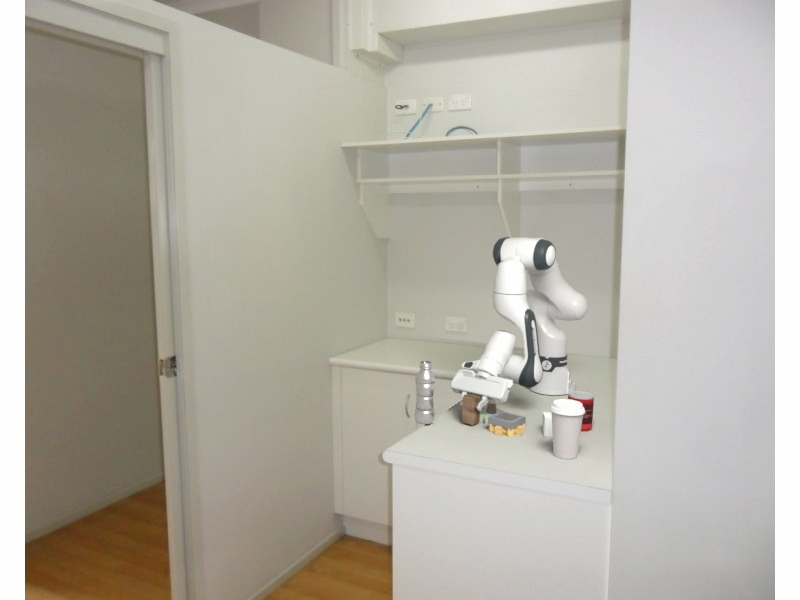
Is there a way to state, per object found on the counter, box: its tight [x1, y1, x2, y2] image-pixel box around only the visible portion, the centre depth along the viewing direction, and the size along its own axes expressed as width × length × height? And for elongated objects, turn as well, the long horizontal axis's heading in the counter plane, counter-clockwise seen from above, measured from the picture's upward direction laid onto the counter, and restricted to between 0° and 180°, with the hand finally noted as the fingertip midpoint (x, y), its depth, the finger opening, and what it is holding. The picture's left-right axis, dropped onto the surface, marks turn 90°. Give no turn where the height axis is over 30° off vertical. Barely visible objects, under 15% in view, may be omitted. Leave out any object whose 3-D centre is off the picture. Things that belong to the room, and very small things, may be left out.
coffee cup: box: [549, 398, 585, 460], centre depth 176 cm, size 10×10×15 cm
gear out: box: [487, 411, 527, 438], centre depth 197 cm, size 11×11×4 cm
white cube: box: [541, 411, 553, 438], centre depth 194 cm, size 6×6×6 cm
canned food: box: [567, 390, 595, 432], centre depth 200 cm, size 8×8×11 cm
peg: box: [461, 394, 481, 426], centre depth 202 cm, size 4×4×8 cm
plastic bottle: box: [414, 360, 436, 425], centre depth 201 cm, size 6×7×20 cm
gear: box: [479, 402, 507, 425], centre depth 207 cm, size 11×11×5 cm
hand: (469, 407), depth 202 cm, fingers closed on peg, 4 cm apart
